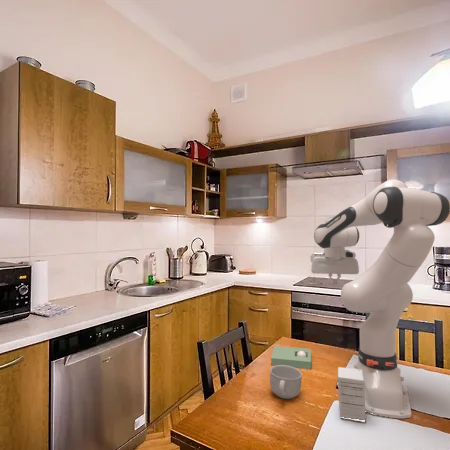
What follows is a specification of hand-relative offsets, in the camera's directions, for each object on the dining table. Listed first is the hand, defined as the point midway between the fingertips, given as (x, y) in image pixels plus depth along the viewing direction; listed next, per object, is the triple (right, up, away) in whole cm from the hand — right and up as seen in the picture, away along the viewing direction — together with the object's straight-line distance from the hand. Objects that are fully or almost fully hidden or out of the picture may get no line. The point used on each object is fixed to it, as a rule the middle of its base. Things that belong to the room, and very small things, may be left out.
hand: (334, 283), depth 145 cm
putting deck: (-21, -32, -7) cm, 38 cm away
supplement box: (-11, -32, -47) cm, 57 cm away
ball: (-17, -29, -8) cm, 35 cm away
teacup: (-29, -32, -36) cm, 56 cm away
